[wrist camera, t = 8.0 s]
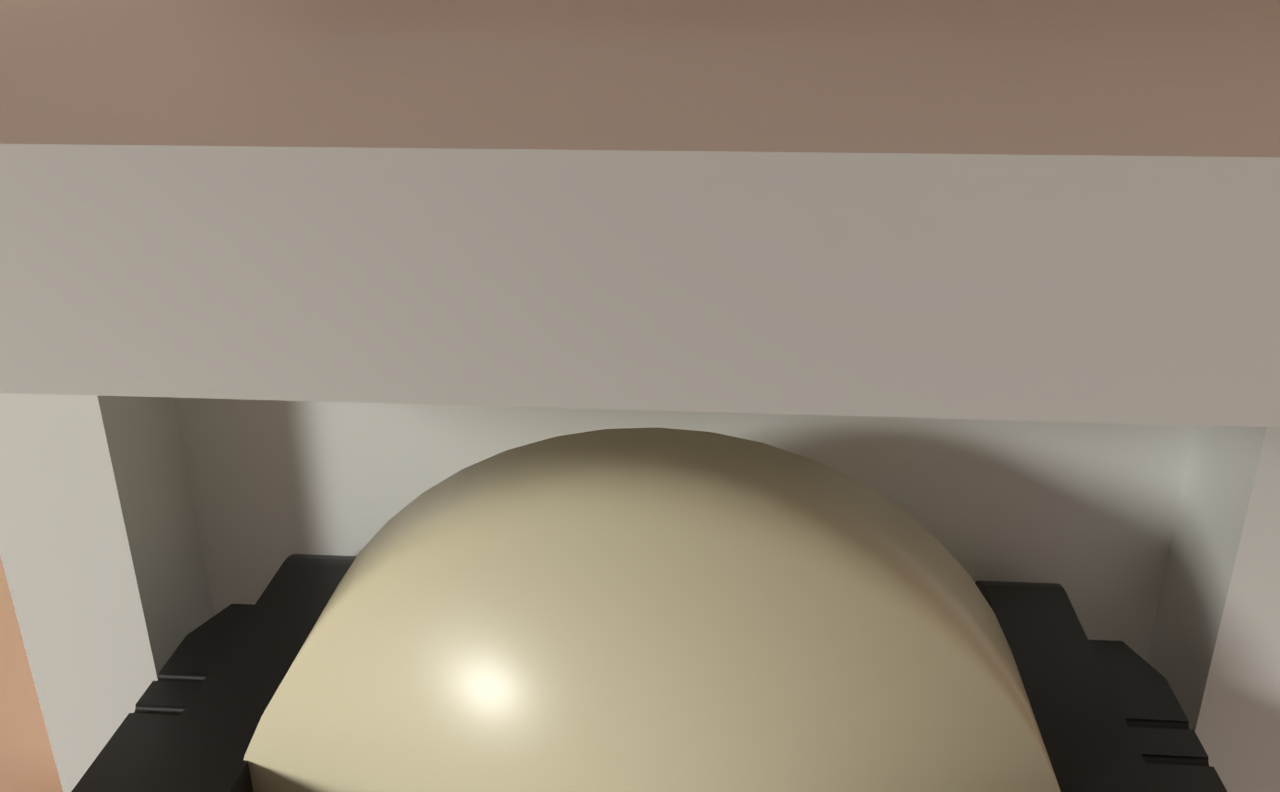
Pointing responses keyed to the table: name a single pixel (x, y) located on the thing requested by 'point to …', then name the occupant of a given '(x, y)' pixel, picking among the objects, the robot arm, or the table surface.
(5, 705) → the table surface
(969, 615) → the cream domed part
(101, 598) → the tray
